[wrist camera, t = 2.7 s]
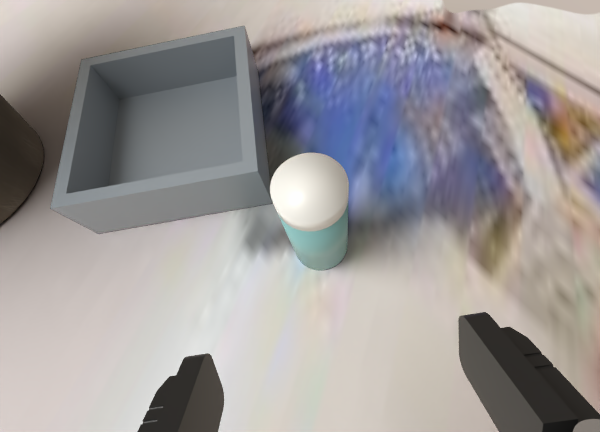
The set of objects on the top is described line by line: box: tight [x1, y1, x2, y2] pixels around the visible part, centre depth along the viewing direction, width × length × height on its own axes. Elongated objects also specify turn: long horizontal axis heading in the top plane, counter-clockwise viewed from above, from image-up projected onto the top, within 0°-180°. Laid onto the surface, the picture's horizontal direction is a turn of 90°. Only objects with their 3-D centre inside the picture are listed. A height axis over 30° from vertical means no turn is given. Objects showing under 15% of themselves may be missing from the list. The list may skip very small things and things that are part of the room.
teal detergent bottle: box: [270, 153, 349, 270], centre depth 25 cm, size 5×5×11 cm
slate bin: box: [50, 26, 272, 234], centre depth 34 cm, size 18×18×6 cm
